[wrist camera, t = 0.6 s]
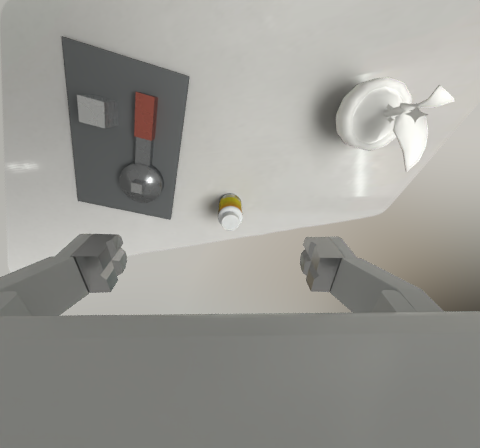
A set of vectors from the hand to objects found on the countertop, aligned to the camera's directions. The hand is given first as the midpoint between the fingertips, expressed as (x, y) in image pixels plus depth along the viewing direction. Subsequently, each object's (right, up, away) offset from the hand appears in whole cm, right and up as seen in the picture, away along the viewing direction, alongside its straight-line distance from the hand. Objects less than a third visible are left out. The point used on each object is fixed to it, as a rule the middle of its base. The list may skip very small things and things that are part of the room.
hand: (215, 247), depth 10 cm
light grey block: (-26, +24, +34) cm, 49 cm away
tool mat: (-23, +18, +38) cm, 48 cm away
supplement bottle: (-1, +6, +46) cm, 47 cm away
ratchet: (-20, +17, +38) cm, 46 cm away
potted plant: (+25, +24, +37) cm, 51 cm away
